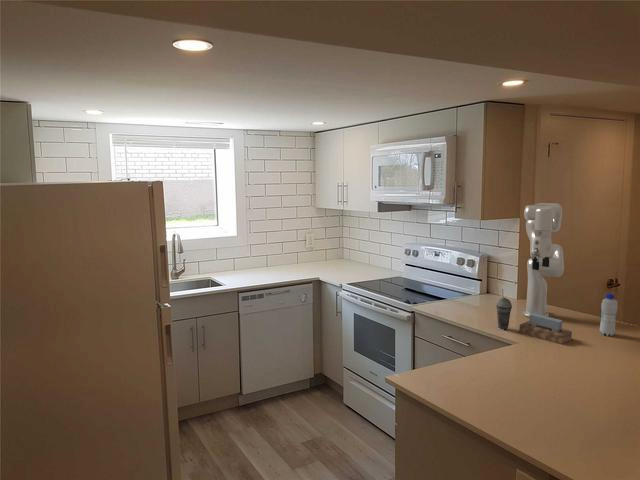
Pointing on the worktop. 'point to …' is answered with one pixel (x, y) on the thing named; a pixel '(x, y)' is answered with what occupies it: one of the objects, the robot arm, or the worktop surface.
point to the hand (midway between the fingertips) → (540, 268)
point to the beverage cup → (503, 312)
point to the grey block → (545, 322)
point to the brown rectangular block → (546, 333)
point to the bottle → (608, 315)
